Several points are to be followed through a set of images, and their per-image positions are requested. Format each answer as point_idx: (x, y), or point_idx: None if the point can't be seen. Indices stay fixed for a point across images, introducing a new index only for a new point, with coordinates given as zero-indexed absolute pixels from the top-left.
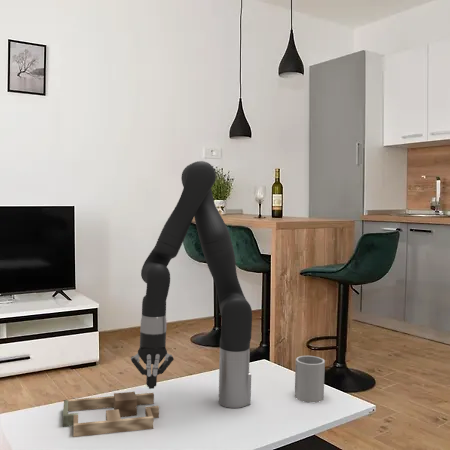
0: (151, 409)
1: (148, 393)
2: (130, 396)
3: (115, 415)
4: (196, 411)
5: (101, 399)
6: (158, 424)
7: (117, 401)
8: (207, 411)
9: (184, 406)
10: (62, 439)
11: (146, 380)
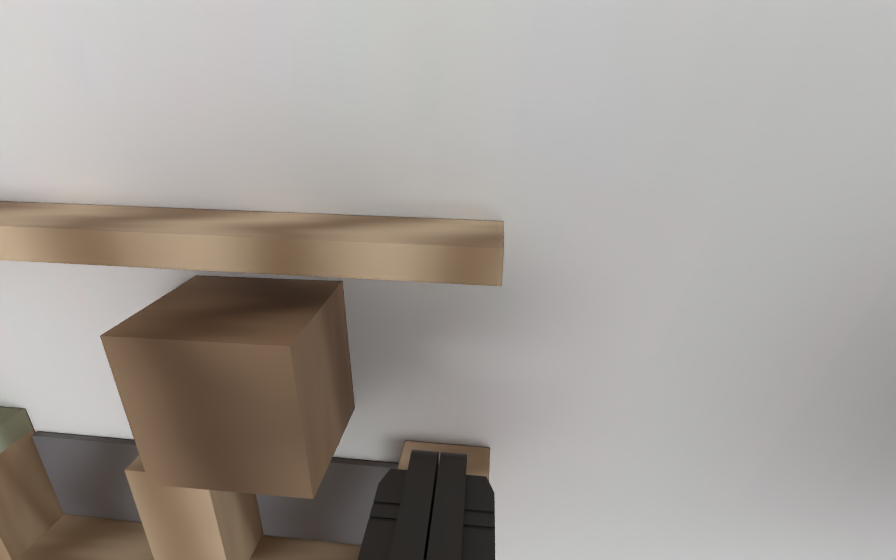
0: None
1: (451, 256)
2: (257, 437)
3: (197, 544)
4: (769, 458)
5: (41, 259)
6: None
7: (164, 482)
8: (846, 478)
9: (726, 362)
10: None
11: (369, 522)
